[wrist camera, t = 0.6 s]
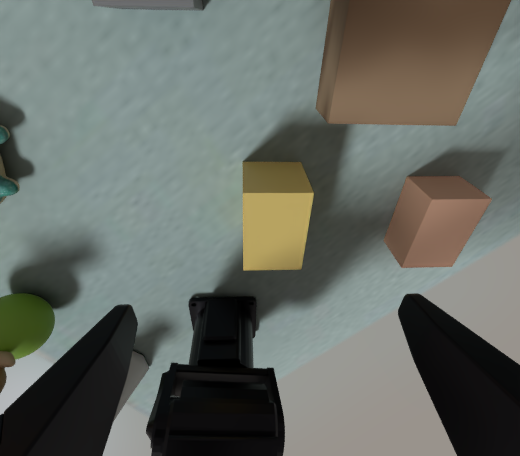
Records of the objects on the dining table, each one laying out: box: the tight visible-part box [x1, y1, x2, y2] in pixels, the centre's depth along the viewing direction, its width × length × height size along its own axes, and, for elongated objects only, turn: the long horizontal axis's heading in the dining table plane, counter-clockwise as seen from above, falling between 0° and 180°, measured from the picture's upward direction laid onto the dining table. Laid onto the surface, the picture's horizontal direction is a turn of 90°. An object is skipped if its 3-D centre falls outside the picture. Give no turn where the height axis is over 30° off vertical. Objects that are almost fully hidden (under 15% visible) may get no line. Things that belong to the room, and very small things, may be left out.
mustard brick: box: [243, 162, 314, 270], centre depth 19 cm, size 6×4×4 cm, turn 178°
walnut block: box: [316, 0, 511, 126], centre depth 13 cm, size 9×7×4 cm
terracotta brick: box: [384, 176, 492, 268], centre depth 21 cm, size 6×4×4 cm, turn 179°
